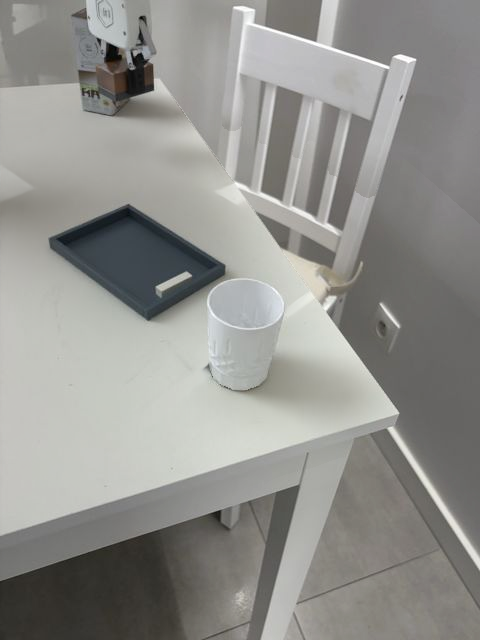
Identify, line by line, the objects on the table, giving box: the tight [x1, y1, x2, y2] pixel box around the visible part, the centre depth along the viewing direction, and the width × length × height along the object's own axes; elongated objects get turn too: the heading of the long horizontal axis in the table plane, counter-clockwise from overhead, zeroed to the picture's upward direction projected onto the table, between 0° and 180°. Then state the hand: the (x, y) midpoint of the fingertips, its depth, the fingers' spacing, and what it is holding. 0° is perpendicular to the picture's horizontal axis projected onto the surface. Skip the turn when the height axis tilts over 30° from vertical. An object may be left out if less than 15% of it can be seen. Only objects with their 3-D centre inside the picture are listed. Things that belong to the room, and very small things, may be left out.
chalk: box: [156, 271, 192, 298], centre depth 69 cm, size 1×5×1 cm
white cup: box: [206, 277, 286, 391], centre depth 59 cm, size 8×8×10 cm
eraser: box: [95, 55, 155, 102], centre depth 88 cm, size 4×8×4 cm, turn 140°
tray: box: [48, 203, 226, 321], centre depth 73 cm, size 19×13×2 cm
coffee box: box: [70, 7, 131, 116], centre depth 102 cm, size 9×6×16 cm
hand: (125, 86), depth 89 cm, fingers closed on eraser, 4 cm apart
